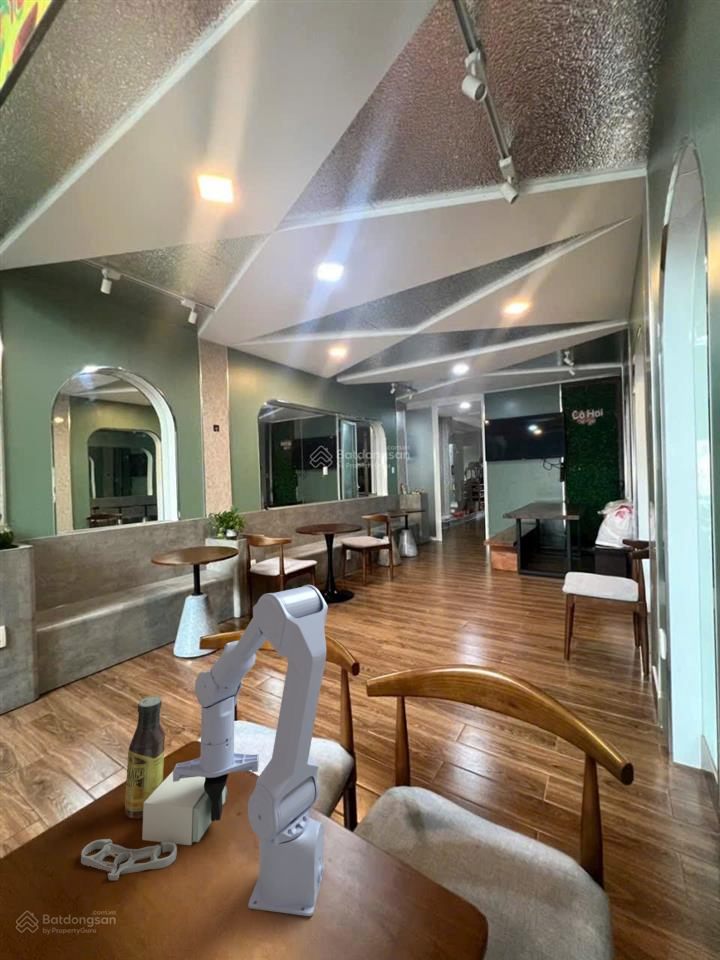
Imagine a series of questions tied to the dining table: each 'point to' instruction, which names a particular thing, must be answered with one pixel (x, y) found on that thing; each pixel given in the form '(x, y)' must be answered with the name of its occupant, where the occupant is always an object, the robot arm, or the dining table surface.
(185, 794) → the cabinet
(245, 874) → the dining table surface
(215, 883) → the dining table surface
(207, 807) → the cabinet door
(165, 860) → the bracket
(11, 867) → the dining table surface
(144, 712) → the sauce bottle
